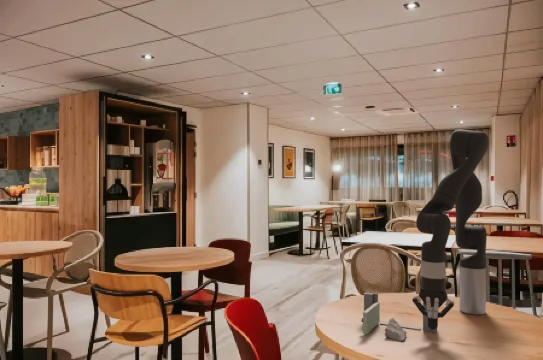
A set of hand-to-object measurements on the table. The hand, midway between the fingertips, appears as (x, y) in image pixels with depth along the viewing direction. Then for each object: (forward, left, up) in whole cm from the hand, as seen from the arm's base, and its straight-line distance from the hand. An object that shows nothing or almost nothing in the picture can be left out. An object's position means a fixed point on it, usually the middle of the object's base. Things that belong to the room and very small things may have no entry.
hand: (432, 329), depth 134 cm
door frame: (-8, -11, -3) cm, 14 cm away
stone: (+1, -11, -4) cm, 12 cm away
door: (-1, -20, -3) cm, 20 cm away
